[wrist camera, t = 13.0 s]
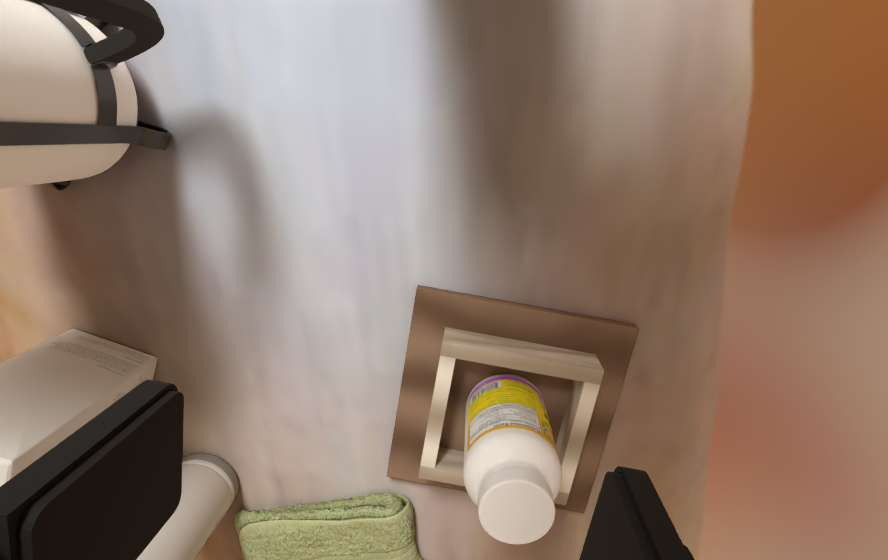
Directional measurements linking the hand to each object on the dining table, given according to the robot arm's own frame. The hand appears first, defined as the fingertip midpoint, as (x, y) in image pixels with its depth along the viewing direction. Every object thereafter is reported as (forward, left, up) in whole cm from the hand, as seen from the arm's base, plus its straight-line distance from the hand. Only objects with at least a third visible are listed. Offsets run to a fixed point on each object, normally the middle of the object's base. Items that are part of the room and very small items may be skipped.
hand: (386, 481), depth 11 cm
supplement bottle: (+14, +7, -30) cm, 33 cm away
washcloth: (+34, -6, -31) cm, 46 cm away
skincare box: (+18, -28, -31) cm, 45 cm away
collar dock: (+14, +7, -30) cm, 34 cm away
